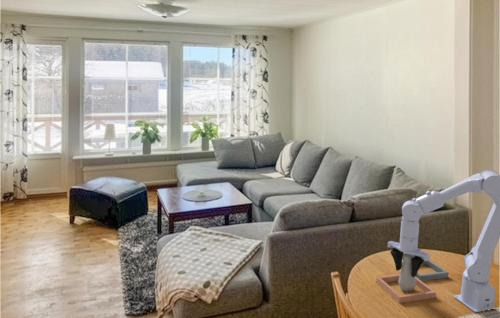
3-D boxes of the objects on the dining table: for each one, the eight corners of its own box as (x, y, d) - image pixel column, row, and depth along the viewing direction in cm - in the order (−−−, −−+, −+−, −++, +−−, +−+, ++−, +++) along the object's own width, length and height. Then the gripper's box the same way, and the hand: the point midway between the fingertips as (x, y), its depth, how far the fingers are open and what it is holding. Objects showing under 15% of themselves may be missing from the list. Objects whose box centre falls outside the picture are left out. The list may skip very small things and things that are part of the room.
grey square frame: (448, 277, 142) (448, 272, 141) (419, 281, 139) (420, 276, 139) (426, 263, 153) (427, 258, 153) (400, 266, 150) (400, 261, 150)
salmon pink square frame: (435, 297, 128) (436, 292, 128) (398, 302, 125) (399, 297, 125) (409, 277, 141) (410, 272, 141) (376, 281, 138) (376, 276, 138)
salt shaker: (409, 284, 137) (412, 250, 134) (419, 292, 131) (422, 257, 129) (394, 285, 136) (397, 251, 133) (403, 294, 130) (406, 258, 128)
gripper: (436, 239, 126) (432, 277, 129) (396, 227, 137) (393, 261, 140) (425, 245, 122) (421, 283, 124) (385, 231, 133) (382, 267, 136)
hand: (406, 272), depth 132 cm, fingers open, 5 cm apart
